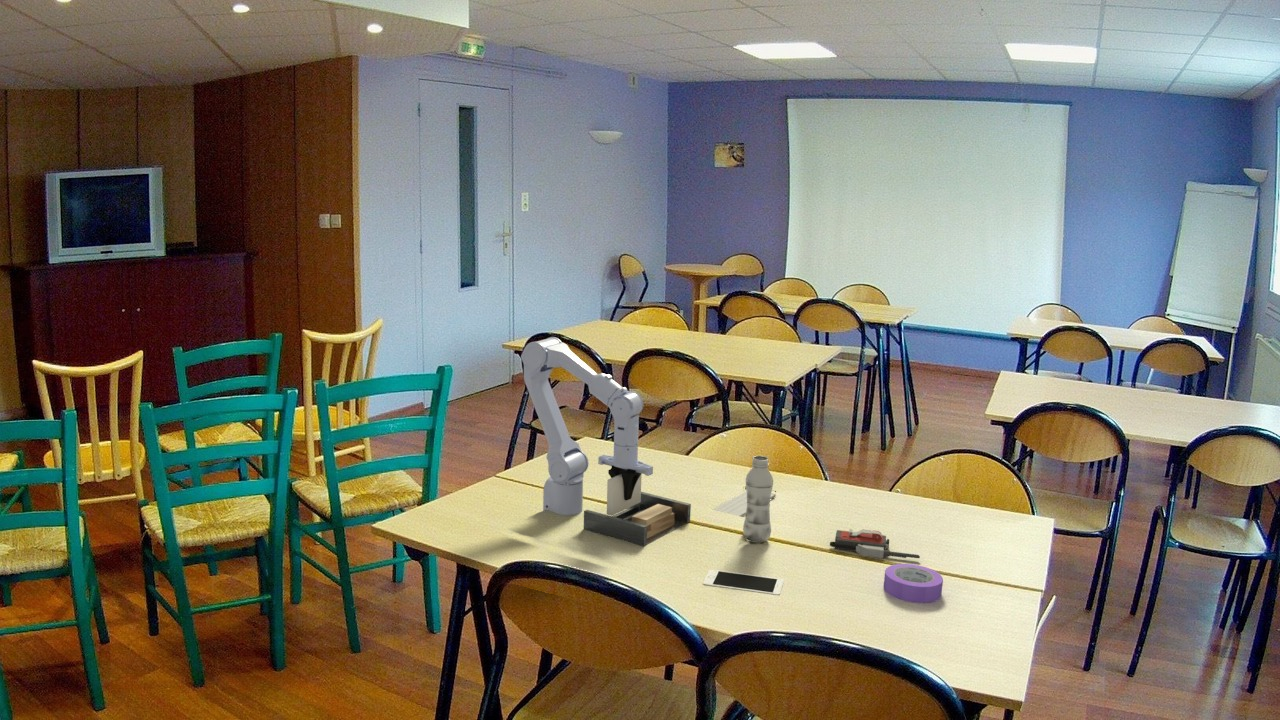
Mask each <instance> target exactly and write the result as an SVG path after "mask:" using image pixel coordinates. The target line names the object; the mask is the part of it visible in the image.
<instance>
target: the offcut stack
mask: <svg viewBox="0 0 1280 720" xmlns="http://www.w3.org/2000/svg"><path fill="white" fill-rule="evenodd" d="M632 522H635V523H639V524H642V525H646V526H647V538H649V537H651V536H653V535H655V534H657V533H659V532H661V531H663V530H665V529H667V528H668V527H670V526H672V525H674V513H672V507H669V506H665V505H661V504H657V505H655V506H652V507H650V508H648V509H646V510H644V511H642V512H640V513H638V514H636V515H634V516H632Z"/></svg>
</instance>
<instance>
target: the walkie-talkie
mask: <svg viewBox="0 0 1280 720" xmlns="http://www.w3.org/2000/svg"><path fill="white" fill-rule="evenodd" d="M829 546H830V547H833V548H834V549H836V550H838V551H839V550H840V551H846V552H847V551H848V552H854V553H857V554H859V555H861V556H864V557H872V558H878V559H883V558H884V557H894V558H896V557H897V558H904V559H906V558H913V559H921V557H920V555H919V554H914V553H907V552H900V551H899V552H897V551H892V550H891V551H890V550H887V549H889V548H890V539H889V538H887V536H886V535H883V534H882V532H881V531H880V530H873V529H872V530H871V529H864V528H863V529H861V530H859V531H853V529H851V528H849V531H848V530H839V529H836V533H835V539H834V541H830V542H829Z"/></svg>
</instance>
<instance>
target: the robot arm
mask: <svg viewBox="0 0 1280 720" xmlns="http://www.w3.org/2000/svg"><path fill="white" fill-rule="evenodd" d="M520 358H521V361H522V363H523V380H524V384H525V386H526V388H527V389H526V390H527V392H528V393H529V396H530V399H531V401H532V404H533V407H534V410H535V412H536V414H537V417H538V420H539V422H540V425H541V428H542V430H543V433H544V436H545V438H546V440H547V441H546V442H547V444H548V446H549V448H548V450H547V454H546V460H547V465H548V467H547V470H548V474H549V477H548V478H547V479H546V481H545V482H544V485H543V490H542V491H543V492H542V493H543V494H542V495H543V496H542V497H543V498H542V503H543V504H542V505H543V506H542V511H550V512H552V513H555V514H556V515H561V516H577V515H580V514H581V513H583V507H584V506H583V502H584V501H583V500H584V499H583V498H584V497H583V496H584V477H585V474H584V473H585V472H586V471H587V470H588V469H589V458H588V457H587V454H585V452H584V451H583V449H581V447H580V445H579V443H578V442H577V441H575V440H574V439H572V438H571V436H570V433H569V431H568V428H567V426H566V422H565V421H564V417H563V416H562V415H563V414H562V413H561V410H560V407H559V405H558V402H557V400H556V397H555V394H554V391H553V389H552V387H551V384H550V381H549V377H550V375H551V373H552V371H553V369H554V368H563V369H564V370H565V371H568V372H569V374H572V375H573V376H574V377H576V378H577V379H579V380H580V381H581V382H583V383H585V384H586V385H587V386H588V392H589V393H590V394H591V395H592V396H594V397H595V398H596V399H597V400H599V401H600V402H601V403H603V404H604V405H606V407H607V408H609V409H610V413H611V416H612V418H613V419H614V420H613V422H614V423H613V424H614V425H613V426H614V428H613V433H614V434H613V455H607V454H606V455H605V454H602V455H599V456H598V458H597V460H598V462H597V463H598V465H605V466H609V467H611V468H610V469H608V470H607V473H608V475H609V477H610V478H613V477H615V476H618V475H620V474H621V475H622V478H623V483H624V500H629V499H631V498H632V494H633V490H634V487H635V485H636V482H637V480H638V479H639V477H640V475H641V474H644V476H647V477H649V476H651V475H653V473H654V466H653V465H650V464H647V463H645V462H643V461H641V460H639V458H638V456H639V455H638V454H639V453H638V452H639V450H638V449H639V429H640V427H639V424H640V423H639V419H640V415H639V414H640V413H642V410H643V409H644V401H643V397H642V396H641V395H640V394H639V392H637V391H635V390H628V388H627V387H626V386H624V387H623V386H622V385H621V384H619V383H618V382H616V380H614V379H613V376H612V375H611V374H609V373H608V374H606V373H602V372H601V373H597V372H596V371H595V370H593V369H592V368H591V367H590V366H589V365H588V364H587V363H585V362H584V361H583V360H582V359H580V357H579V356H577V355H576V354H575V352H573V351H572V350H571V349H570V348H569V346H568V344H566V343H565V342H562V340H561V339H559V338H558V337H555V336H550V337H547V338H545V339H541V340H538V341H537V340H536V341H531V342H529V343H527V344H526V346H524V348H523V351H522V353H521V355H520Z"/></svg>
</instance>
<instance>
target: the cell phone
mask: <svg viewBox="0 0 1280 720" xmlns="http://www.w3.org/2000/svg"><path fill="white" fill-rule="evenodd" d="M784 582H785V579H783V578H777V577H772V576H771V577H769V576H762V575H756V574H755V575H754V574H746V573H741V572H733V571H726V570H717V569H709V570H708V572H707V574H706V576H705V578H704V580H703V582H702V585H703V584H705V585H704V586H708V585H714V586H713V587H716V586H720V587H719V588H723V587H726V588H725V589H730V588H731V589H732V590H738V589H739V591H745V590H747V591H746V592H753V593H760V594H761V593H762V594H769V595H775V596H779V595H780V594H781V592H782V588H783V586H784ZM731 589H730V590H731Z"/></svg>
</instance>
